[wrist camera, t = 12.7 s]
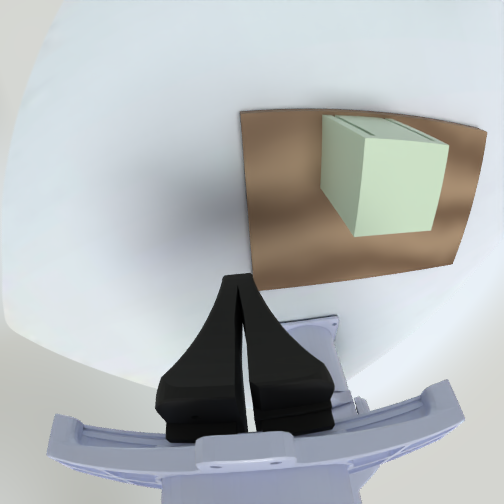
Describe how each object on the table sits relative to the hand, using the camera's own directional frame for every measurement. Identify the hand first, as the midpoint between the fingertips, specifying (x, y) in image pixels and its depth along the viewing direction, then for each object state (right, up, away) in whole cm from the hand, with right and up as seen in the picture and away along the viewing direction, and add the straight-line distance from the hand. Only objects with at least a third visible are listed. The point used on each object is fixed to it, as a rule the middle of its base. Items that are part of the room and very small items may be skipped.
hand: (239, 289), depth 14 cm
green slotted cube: (+8, +9, +5) cm, 13 cm away
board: (+11, +6, +8) cm, 15 cm away
